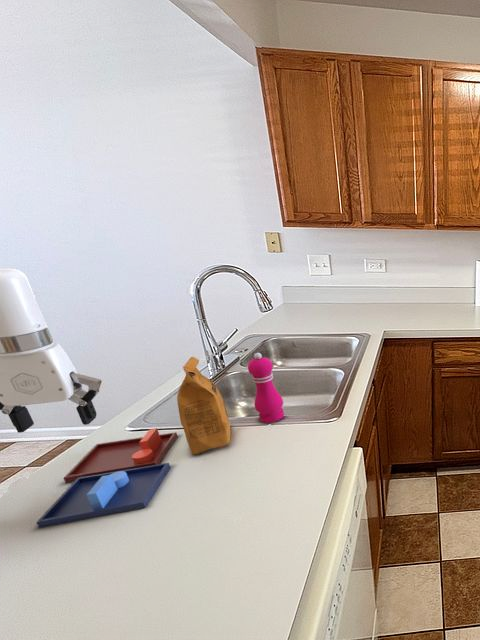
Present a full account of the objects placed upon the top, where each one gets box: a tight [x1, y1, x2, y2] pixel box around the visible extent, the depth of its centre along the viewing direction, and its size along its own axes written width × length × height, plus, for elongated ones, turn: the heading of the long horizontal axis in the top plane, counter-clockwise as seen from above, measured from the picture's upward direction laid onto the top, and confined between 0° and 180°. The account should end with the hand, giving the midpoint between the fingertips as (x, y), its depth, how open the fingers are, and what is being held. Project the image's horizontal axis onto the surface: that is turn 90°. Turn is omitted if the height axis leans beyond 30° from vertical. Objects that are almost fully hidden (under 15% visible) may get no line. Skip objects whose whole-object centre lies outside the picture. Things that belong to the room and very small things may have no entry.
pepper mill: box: [247, 352, 285, 424], centre depth 110 cm, size 7×7×20 cm
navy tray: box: [36, 462, 171, 529], centre depth 84 cm, size 17×14×1 cm
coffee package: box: [176, 356, 231, 455], centre depth 99 cm, size 10×12×22 cm
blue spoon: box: [86, 471, 129, 510], centre depth 84 cm, size 10×4×4 cm, turn 18°
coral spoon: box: [132, 427, 162, 465], centre depth 97 cm, size 10×4×4 cm, turn 18°
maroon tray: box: [63, 431, 179, 484], centre depth 96 cm, size 17×14×1 cm
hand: (59, 424), depth 76 cm, fingers open, 9 cm apart
